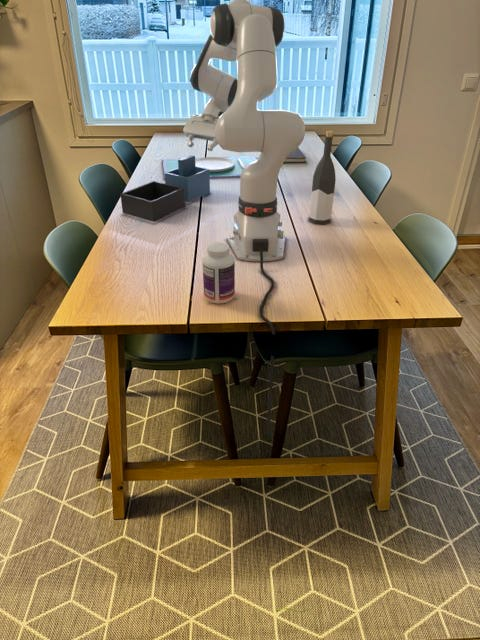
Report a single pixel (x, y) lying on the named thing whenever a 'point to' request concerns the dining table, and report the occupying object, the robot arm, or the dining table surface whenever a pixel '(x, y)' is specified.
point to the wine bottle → (323, 186)
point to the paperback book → (295, 157)
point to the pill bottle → (218, 273)
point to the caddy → (190, 178)
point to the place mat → (216, 165)
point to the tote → (153, 200)
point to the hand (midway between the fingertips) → (199, 148)
